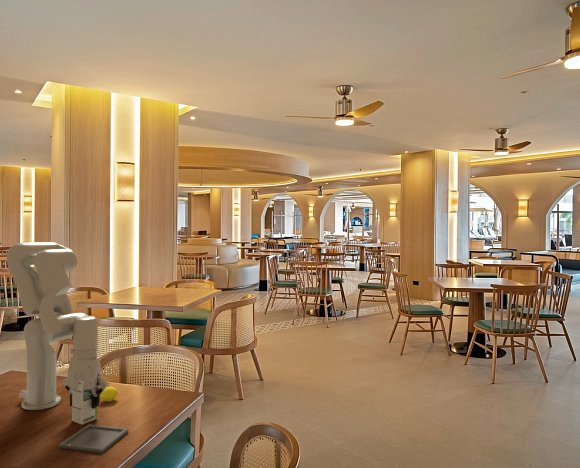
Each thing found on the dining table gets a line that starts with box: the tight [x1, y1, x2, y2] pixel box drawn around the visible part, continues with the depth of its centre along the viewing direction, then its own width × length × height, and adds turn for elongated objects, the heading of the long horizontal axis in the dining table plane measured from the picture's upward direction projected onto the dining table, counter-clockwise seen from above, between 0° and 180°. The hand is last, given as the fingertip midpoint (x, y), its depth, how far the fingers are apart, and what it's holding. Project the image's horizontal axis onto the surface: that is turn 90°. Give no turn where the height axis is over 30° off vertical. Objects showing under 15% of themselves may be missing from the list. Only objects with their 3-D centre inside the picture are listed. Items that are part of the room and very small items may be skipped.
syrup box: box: [71, 380, 98, 426], centre depth 152 cm, size 6×6×14 cm
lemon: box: [100, 386, 119, 403], centre depth 169 cm, size 7×5×5 cm
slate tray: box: [58, 423, 129, 454], centre depth 138 cm, size 14×14×1 cm
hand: (84, 405), depth 152 cm, fingers closed on syrup box, 7 cm apart
